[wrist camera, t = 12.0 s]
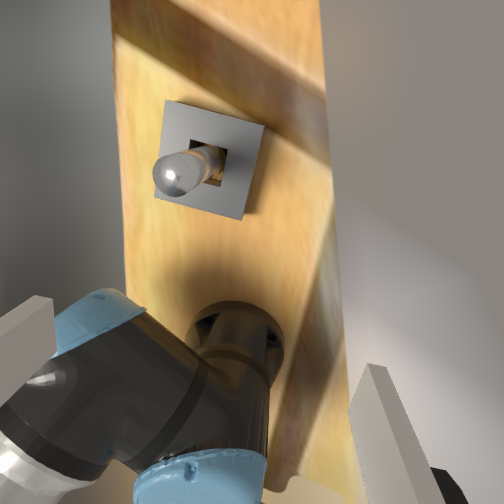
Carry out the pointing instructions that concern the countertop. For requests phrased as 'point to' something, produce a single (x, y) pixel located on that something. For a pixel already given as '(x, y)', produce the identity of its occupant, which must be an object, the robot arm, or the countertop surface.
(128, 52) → the countertop surface
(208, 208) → the socket block
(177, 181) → the steel peg
